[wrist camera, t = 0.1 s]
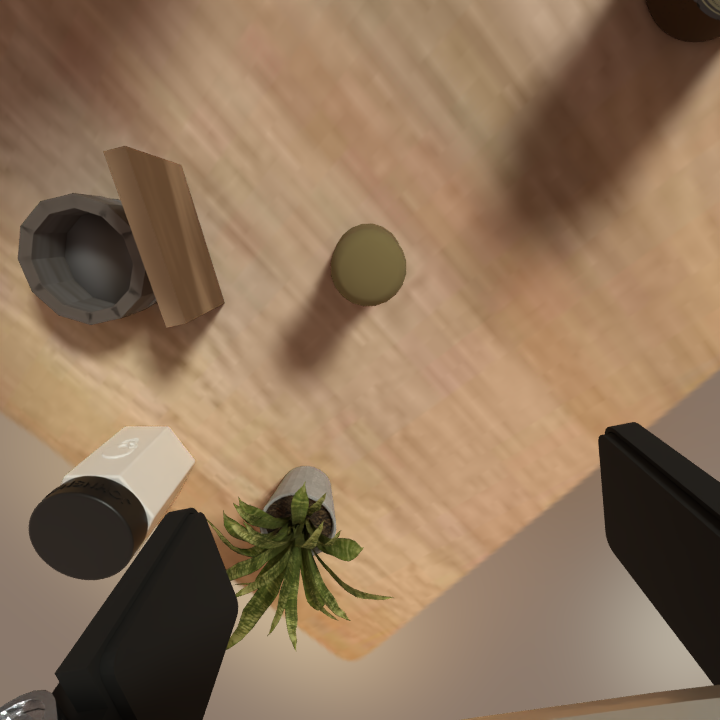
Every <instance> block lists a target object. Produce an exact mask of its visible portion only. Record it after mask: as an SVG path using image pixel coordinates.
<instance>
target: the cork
mask: <svg viewBox="0 0 720 720" xmlns="http://www.w3.org/2000/svg"><path fill="white" fill-rule="evenodd" d="M405 275H406V259H405V256H404V253H403V250H402V248H401V247H400V246H399V243H398V241H397V240H396V239H395V237H394V236H393V234H392V233H391V232H389V231H388V230H386V229H385V228H384V227H381V226H378V225H375V224H361V225H358V226H356V227H353V228H351V229H350V230H348V231H347V232H346V233H345V234H344V235H343V236H342V237H341V239H340V240H339V242H338V244H337V247H336V249H335V251H334V253H333V256H332V260H331V277H332V279H333V282H334V285H335V287H336V288H337V290H338V291H339V292H340V293H341V295H342V296H343V297H345V298H346V299H347V300H349V301H350V302H352V303H355V304H358V305H362V306H376V305H379V304H381V303H384V302H387V301H388V300H389V299H391V298H392V297H393V296H395V295H396V293H397V292H398V291H399V289H400V288H401V286H402V285H403V282H404V279H405Z"/></svg>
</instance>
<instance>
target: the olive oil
mask: <svg viewBox="0 0 720 720" xmlns="http://www.w3.org/2000/svg"><path fill="white" fill-rule="evenodd" d="M646 1H647V5H648V8H649V10H650V13H651V15H652V17H653V18H654V20H655V21H656V23H657V24H658V25H659V27H660V28H661V29H662V30H664V31H665V32H666V33H667V34H669V35H671V36H672V37H674V38H677V39H679V40H683V41H688V42H701V41H707V40H711V39H714V38H717V37H720V0H646Z"/></svg>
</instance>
